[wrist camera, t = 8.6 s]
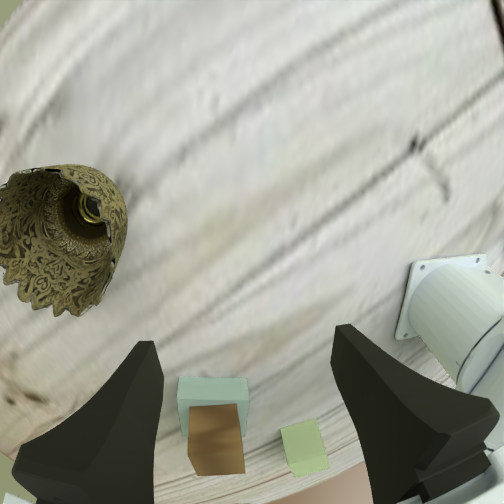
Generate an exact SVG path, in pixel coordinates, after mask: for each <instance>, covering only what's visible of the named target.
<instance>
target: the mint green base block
mask: <svg viewBox="0 0 504 504" xmlns="http://www.w3.org/2000/svg"><path fill="white" fill-rule="evenodd" d="M234 403H237V409H238V415H239V421H240V427H241V436H242V437H245V431H246V423H247V415H248V407H249V392H248V384H247V378H203V377H180V376H179V382H178V392H177V404H178V411H179V419H180V426H181V432H182V436H188V427H189V407H190V406H209V405H223V404H234Z"/></svg>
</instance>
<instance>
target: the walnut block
mask: <svg viewBox="0 0 504 504" xmlns="http://www.w3.org/2000/svg"><path fill="white" fill-rule="evenodd" d="M188 457H189V459H190V461H191V463H192V465H193V467H194V469H195V471H196V473H197V476H212V475H230V474H243V473H245V464H244V455H243V445H242V436H241V427H240V421H239V415H238V409H237V403H234V404H223V405H209V406H190V407H189V427H188Z"/></svg>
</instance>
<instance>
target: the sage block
mask: <svg viewBox="0 0 504 504" xmlns="http://www.w3.org/2000/svg"><path fill="white" fill-rule="evenodd" d="M280 429H281V434H282V439H283V444H284V449H285V454H286V459H287V463H288V466H289V468H290V470H291V472H292V473H293V475H294V477H295V478H296V477H300V476H304V475H308V474H311V473H315V472H318V471H322V470H325V469H328V468H330V465H329V461H328V458H327V454H326V451H325V447H324V444H323V441H322V438H321V434H320V431H319V428H318V425H317V421H316V418H315V419H312V420H309V421H305V422H302V423H298V424H295V425H291V426H288V427H284V428H280Z"/></svg>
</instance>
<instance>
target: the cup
mask: <svg viewBox="0 0 504 504" xmlns="http://www.w3.org/2000/svg"><path fill="white" fill-rule="evenodd" d="M88 197H90V199H91V200H93V201H96V202H97V203H98V210H99V212H100V215H94V214H92V213H91V212H90V211H89V209H88V207H87V199H88ZM0 199H1V201H0V266H2V267H3V268H4V269H5V270H6V273H5V274H4V272H3V274H4V275H3V281H4V282H3V283H4V284H5V285H10V284H14V283H19V282H20V283H19V285H18V291H17V295H18V298H19V299H20V300H21V301H22V302H26V303H28V302H31V304H32V309H33V310H38V309H41V308H44V307H45V308H48V307H49V306H51V305H53V313H54V317H58V316H59V315H61V314H62V313H63V312H64V311H65V310H67V311H69V312H70V313H71V315H75V316H77V317H79V316H81V315H83V314H84V313H85V312H86V311H87V310H88V309H90V308H91V307H92V306H93V305H95V306H97V305H98V304H99V303H100V302H101V300H102V298H103V296H104V293H105V291H106V288H107V286H108V285H109V283H110V282H111V279H112V276H113V273H114V272H115V268H116V266H117V263H118V260H119V258H120V255H121V252H122V249H123V246H124V243H125V239H126V234H127V221H128V219H127V210H126V206H125V202H124V200H123V197H122V195H121V193H120V191H119V190H118V188H117V187H116V185H115V184H114V183H113V182H112V181H111V180H110V179H109V178H108V177H107V176H106V175H105V174H103V173H102V172H100V171H98V170H96V169H94V168H91V167H88V166H83V165H74V164H66V165H56V166H48V167H40V168H32V169H27V170H23V171H19V172H16V173H14V174H12V175H11V176H10V178H9V180H8V182H7V183H6V184H3V185H2V186H0ZM17 281H19V282H17ZM13 282H14V283H13Z"/></svg>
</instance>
